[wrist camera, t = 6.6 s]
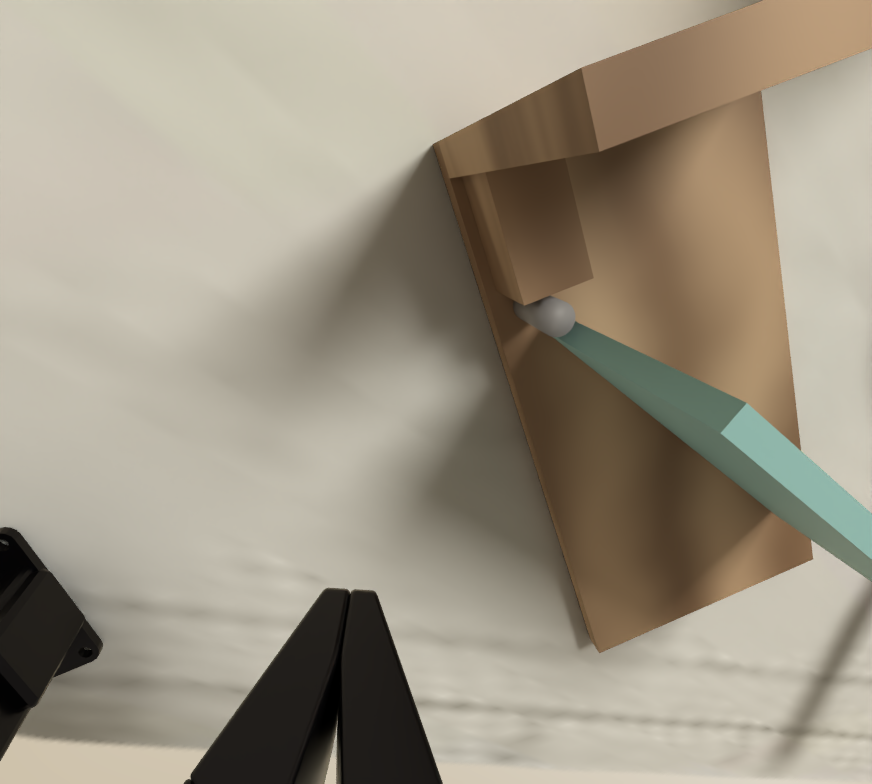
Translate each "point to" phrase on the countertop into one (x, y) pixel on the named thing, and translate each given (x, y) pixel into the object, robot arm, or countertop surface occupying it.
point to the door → (721, 435)
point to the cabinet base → (647, 294)
